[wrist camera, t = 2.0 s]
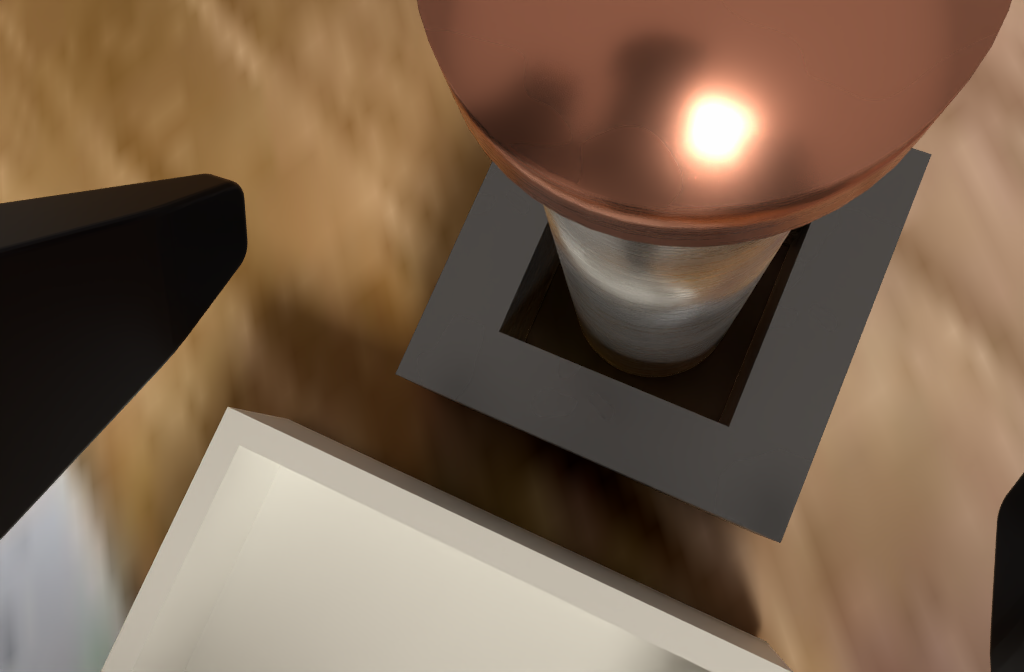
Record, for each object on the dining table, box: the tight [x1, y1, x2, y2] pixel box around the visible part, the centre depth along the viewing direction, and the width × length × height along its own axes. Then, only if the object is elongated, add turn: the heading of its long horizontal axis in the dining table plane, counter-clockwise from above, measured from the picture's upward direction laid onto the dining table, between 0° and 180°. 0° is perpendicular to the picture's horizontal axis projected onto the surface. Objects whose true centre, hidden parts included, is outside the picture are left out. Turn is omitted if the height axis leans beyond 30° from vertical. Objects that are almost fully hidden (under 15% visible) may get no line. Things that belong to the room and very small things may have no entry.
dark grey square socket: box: [396, 148, 931, 543], centre depth 17 cm, size 8×8×3 cm
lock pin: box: [417, 0, 1012, 377], centre depth 13 cm, size 5×5×13 cm
